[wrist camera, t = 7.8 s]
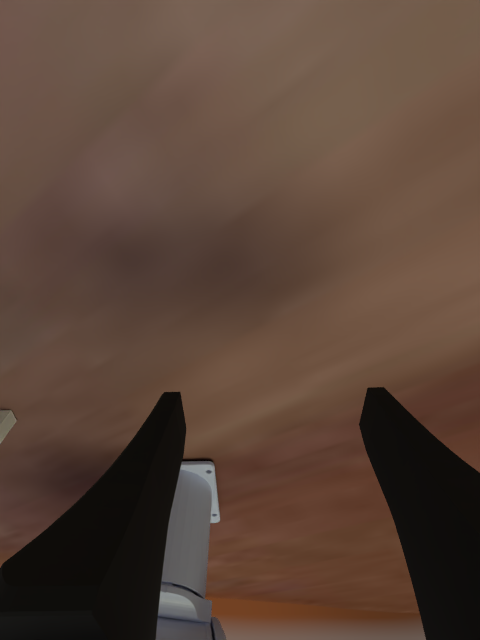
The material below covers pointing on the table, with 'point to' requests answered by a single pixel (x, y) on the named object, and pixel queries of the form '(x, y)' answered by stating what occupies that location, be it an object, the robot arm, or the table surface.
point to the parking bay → (6, 423)
